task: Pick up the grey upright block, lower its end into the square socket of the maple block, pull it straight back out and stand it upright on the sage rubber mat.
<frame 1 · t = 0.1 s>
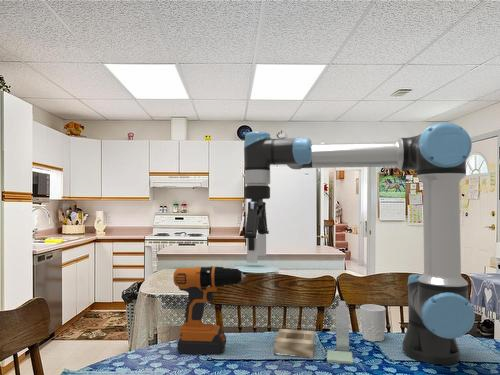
hand: (257, 259, 110), 28 cm above the table, tool pointing down, fingers open, 13 cm apart
mat: (339, 357, 108), on the table
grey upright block: (342, 348, 115), on the table
socket block: (295, 349, 114), on the table
white cup: (373, 339, 124), on the table
power drill: (209, 350, 114), on the table
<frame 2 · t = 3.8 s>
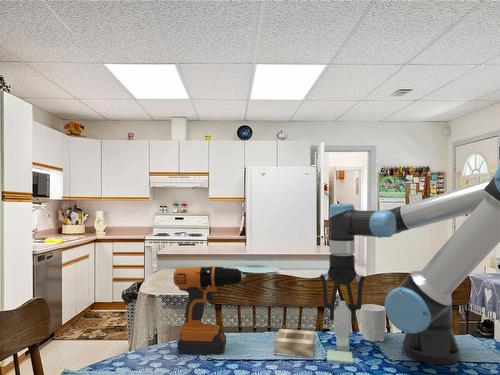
hand: (342, 331, 116), 5 cm above the table, tool pointing down, fingers closed on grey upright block, 4 cm apart
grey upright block: (342, 348, 115), on the table, touching gripper
everything else where it was.
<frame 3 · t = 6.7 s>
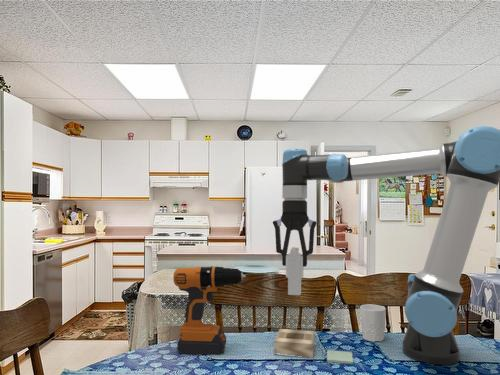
hand: (294, 276, 115), 22 cm above the table, tool pointing down, fingers closed on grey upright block, 4 cm apart
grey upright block: (294, 293, 115), point 17 cm above the table, touching gripper
everything else where it was.
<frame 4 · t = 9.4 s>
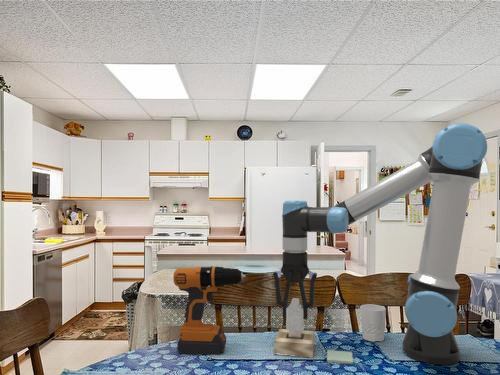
hand: (295, 328, 115), 6 cm above the table, tool pointing down, fingers closed on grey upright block, 4 cm apart
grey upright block: (295, 346, 115), point 1 cm above the table, touching gripper
everything else where it was.
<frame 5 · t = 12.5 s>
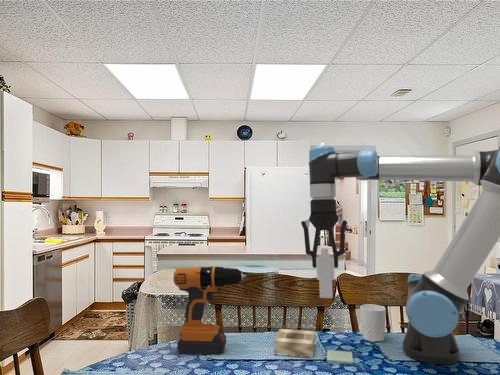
hand: (325, 278, 111), 22 cm above the table, tool pointing down, fingers closed on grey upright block, 4 cm apart
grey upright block: (326, 296, 111), point 17 cm above the table, touching gripper
everything else where it was.
when the fingers open (7 cm above the table, at t = 15.2 s): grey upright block drops 1 cm, resting on mat.
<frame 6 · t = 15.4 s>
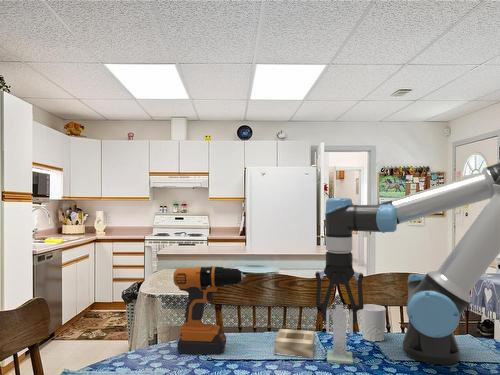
hand: (339, 332, 109), 7 cm above the table, tool pointing down, fingers open, 6 cm apart
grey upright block: (339, 355, 108), point 1 cm above the table, touching mat
everything else where it was.
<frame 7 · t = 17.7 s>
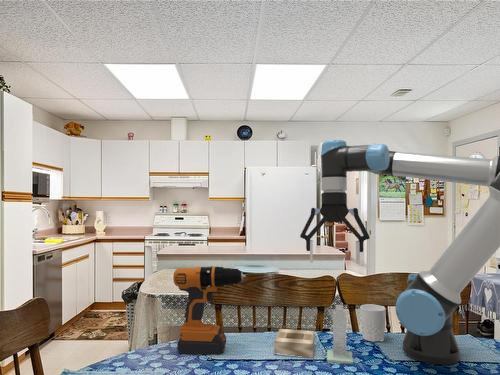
hand: (334, 262, 114), 26 cm above the table, tool pointing down, fingers open, 13 cm apart
nothing on the table moved.
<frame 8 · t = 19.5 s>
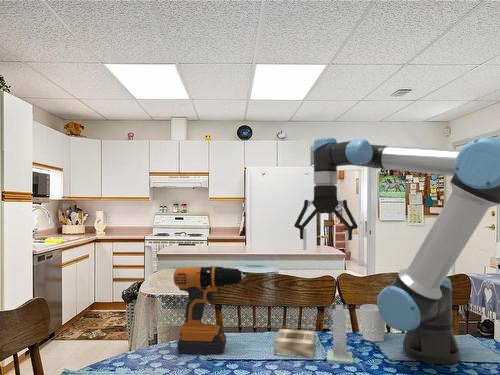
hand: (325, 250, 124), 29 cm above the table, tool pointing down, fingers open, 13 cm apart
nothing on the table moved.
at the end: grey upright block inside the target area on the mat (0.1 cm from its centre), point 0.6 cm above the mat's base; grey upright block tilted 0°; the gripper is holding nothing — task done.
